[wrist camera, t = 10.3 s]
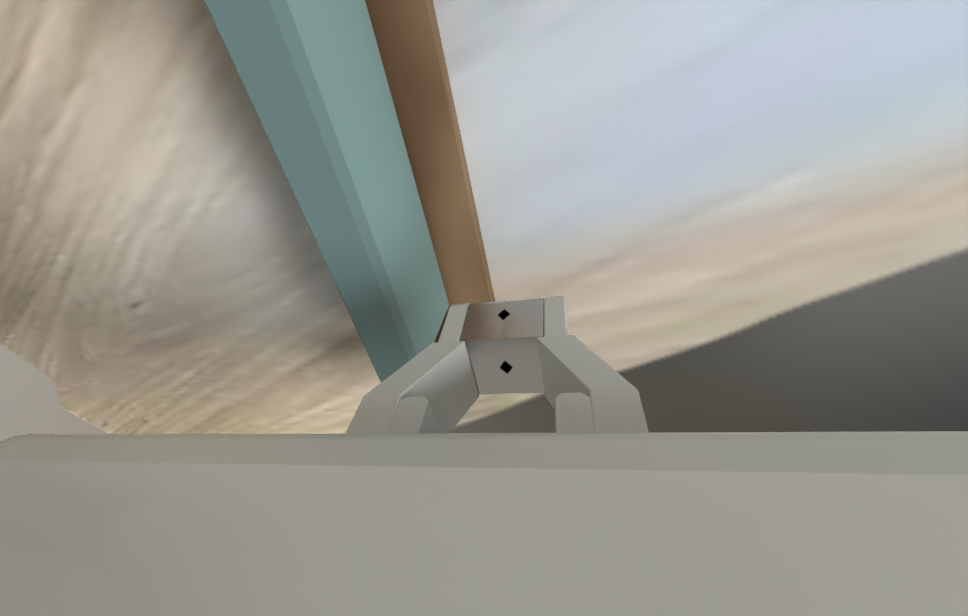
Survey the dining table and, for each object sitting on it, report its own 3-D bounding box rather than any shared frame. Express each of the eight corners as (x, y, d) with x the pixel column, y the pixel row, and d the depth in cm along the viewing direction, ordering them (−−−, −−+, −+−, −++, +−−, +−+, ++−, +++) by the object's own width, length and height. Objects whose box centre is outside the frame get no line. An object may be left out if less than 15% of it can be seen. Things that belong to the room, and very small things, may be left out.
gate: (266, -170, 13) (58, -305, 7) (319, -191, 12) (138, -351, 7) (421, 306, 23) (381, 387, 18) (453, 304, 23) (421, 387, 18)
